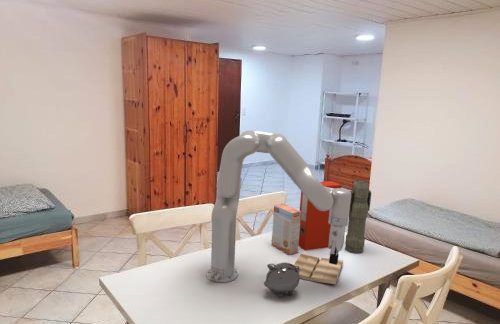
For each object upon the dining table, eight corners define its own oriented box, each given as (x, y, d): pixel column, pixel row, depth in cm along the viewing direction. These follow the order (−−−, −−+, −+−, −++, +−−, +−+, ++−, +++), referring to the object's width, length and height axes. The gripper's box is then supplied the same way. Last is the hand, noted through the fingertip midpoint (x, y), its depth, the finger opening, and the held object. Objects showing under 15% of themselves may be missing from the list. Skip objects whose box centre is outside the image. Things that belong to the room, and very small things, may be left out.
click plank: (335, 284, 144) (335, 280, 143) (311, 280, 147) (311, 277, 147) (343, 263, 162) (343, 260, 162) (321, 261, 165) (321, 257, 165)
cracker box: (298, 253, 173) (301, 211, 169) (288, 255, 170) (291, 212, 166) (280, 242, 185) (283, 202, 181) (271, 244, 181) (273, 204, 177)
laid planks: (310, 281, 147) (310, 277, 147) (288, 275, 151) (288, 272, 151) (320, 261, 166) (321, 257, 165) (300, 256, 169) (301, 253, 169)
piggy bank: (257, 290, 139) (258, 262, 137) (289, 282, 146) (291, 255, 144) (272, 305, 129) (274, 275, 127) (306, 296, 136) (308, 267, 134)
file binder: (335, 247, 182) (341, 185, 176) (304, 251, 176) (309, 186, 170) (326, 240, 189) (331, 181, 183) (296, 244, 183) (301, 182, 177)
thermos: (338, 248, 181) (345, 179, 174) (357, 244, 186) (364, 178, 179) (350, 255, 173) (357, 184, 166) (369, 252, 178) (377, 182, 171)
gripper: (345, 227, 135) (339, 273, 138) (350, 216, 149) (345, 258, 152) (324, 223, 138) (320, 268, 141) (332, 213, 151) (327, 254, 155)
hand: (333, 263), depth 147 cm, fingers closed
